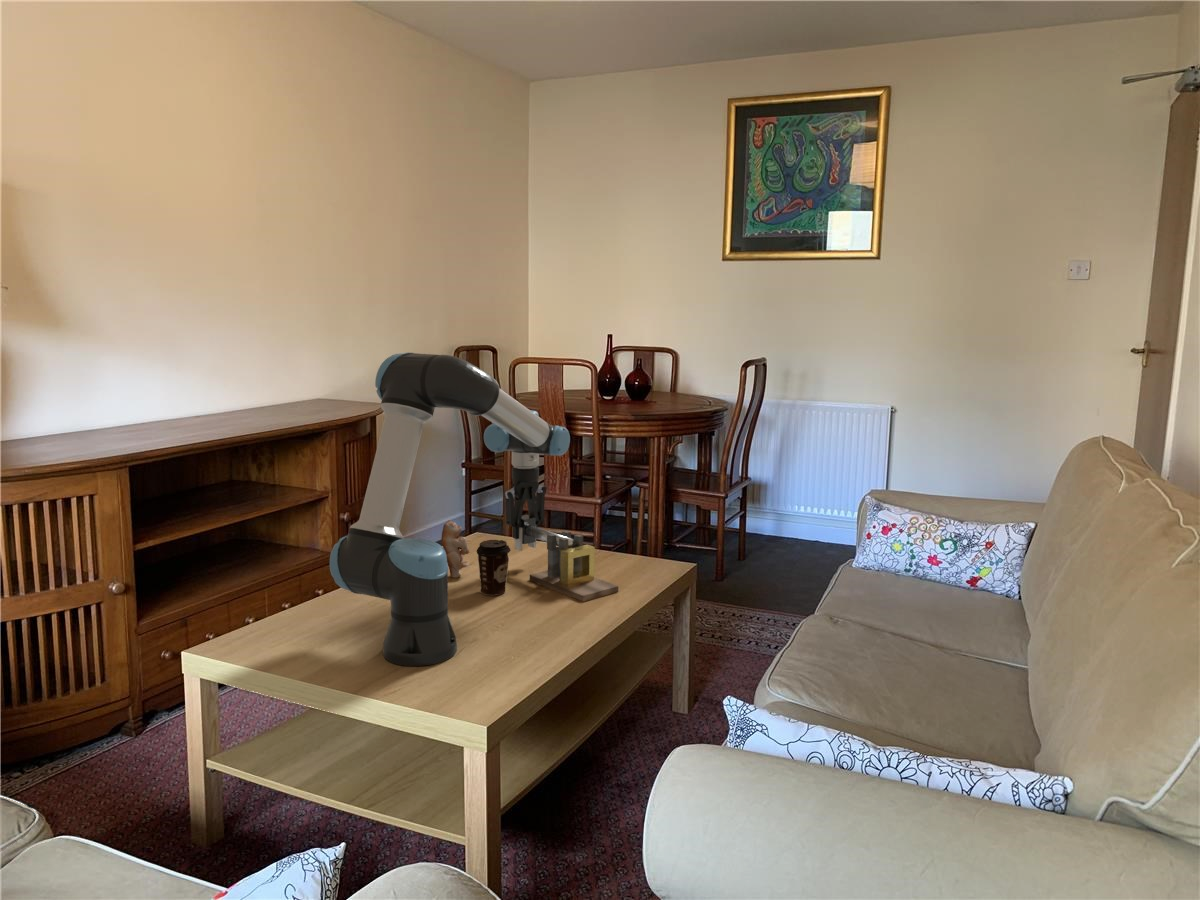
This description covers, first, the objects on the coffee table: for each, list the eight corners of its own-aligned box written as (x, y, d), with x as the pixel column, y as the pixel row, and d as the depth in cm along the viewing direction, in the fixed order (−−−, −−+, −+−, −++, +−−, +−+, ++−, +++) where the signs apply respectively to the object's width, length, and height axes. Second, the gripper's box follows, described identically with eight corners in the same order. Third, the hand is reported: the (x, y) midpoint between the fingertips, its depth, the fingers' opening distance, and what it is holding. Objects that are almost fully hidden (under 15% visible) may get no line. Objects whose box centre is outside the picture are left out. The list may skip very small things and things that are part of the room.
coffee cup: (513, 587, 219) (513, 539, 217) (507, 598, 211) (507, 548, 209) (481, 586, 220) (480, 538, 218) (473, 596, 212) (472, 546, 210)
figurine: (467, 579, 226) (467, 524, 224) (439, 578, 226) (438, 524, 224) (471, 572, 232) (471, 519, 230) (444, 571, 232) (443, 518, 230)
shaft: (565, 558, 220) (565, 532, 219) (515, 541, 236) (515, 516, 235) (577, 556, 223) (577, 530, 221) (526, 538, 239) (527, 514, 238)
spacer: (567, 586, 216) (568, 552, 215) (560, 583, 218) (560, 550, 217) (594, 579, 222) (594, 546, 221) (586, 577, 224) (587, 544, 223)
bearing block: (583, 601, 210) (583, 551, 208) (529, 580, 226) (529, 533, 224) (618, 591, 218) (619, 542, 216) (564, 571, 234) (564, 526, 232)
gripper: (508, 471, 224) (508, 556, 228) (558, 464, 235) (557, 545, 239) (491, 467, 230) (492, 550, 233) (541, 461, 241) (541, 540, 245)
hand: (525, 547), depth 236 cm, fingers closed on shaft, 4 cm apart
